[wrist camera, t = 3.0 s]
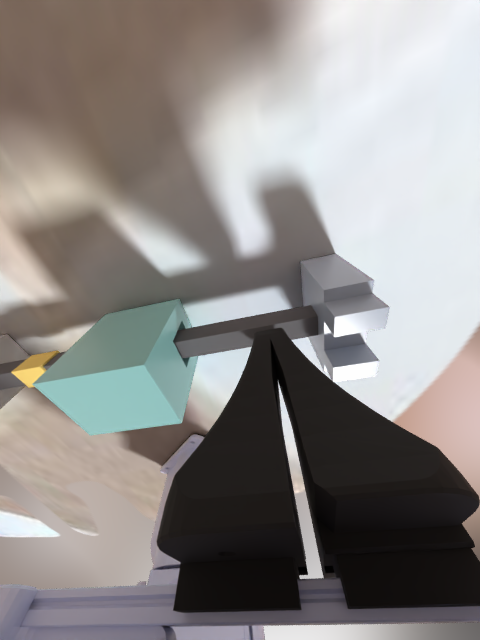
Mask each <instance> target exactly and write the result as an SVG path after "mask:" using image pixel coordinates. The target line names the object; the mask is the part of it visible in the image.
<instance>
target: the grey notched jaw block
mask: <svg viewBox="0 0 480 640" xmlns="http://www.w3.org/2000/svg"><path fill="white" fill-rule="evenodd" d="M300 263H301V278H302V293H303V306H308V305H311V306H312V307H313V309H314V311H315V312H316V314H317V316H318V335H316V336H310V337H308V338H309V340H310V342H311V344H312V346H313V348H314V351H315V353H316V355H317V357H318V359H319V362H320V364H321V366H322V368H323V370H324V372H328V373H329V375H330V377H331V379H332V381H333V382H339V381H346V380H352V379H359V378H366V377H373V376H377V371H378V366H379V360H378V358H377V357H376V356H375V355H374V353H373V352H372V351H371V350H370V348H369V347H368V346H367V345H366V337H367V331H373V330H379V329H385V328H386V324H387V318H388V313H389V308H390V307H389V306H388V305H386V304H385V303H384V302H383V301H381V300H380V299H379V298H378V297H376V296H375V295H374V294H373V293H372V292H373V285H374V280H373V279H372V278H370V277H369V276H367V275H366V274H365V273H363V272H362V271H360V270H359V269H357V268H356V267H354V266H353V265H352V264H350V263H349V262H347V261H346V260H344V259H343V258H341V257H340V256H339V255H337V254H332V255H327V256H322V257H318V258H313V259H308V260H304V261H300Z"/></svg>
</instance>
